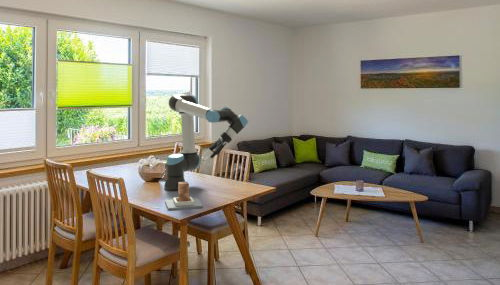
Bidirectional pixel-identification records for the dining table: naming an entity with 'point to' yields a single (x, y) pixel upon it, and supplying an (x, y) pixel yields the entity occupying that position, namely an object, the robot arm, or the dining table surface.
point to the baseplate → (183, 204)
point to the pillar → (183, 191)
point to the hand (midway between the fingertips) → (205, 159)
